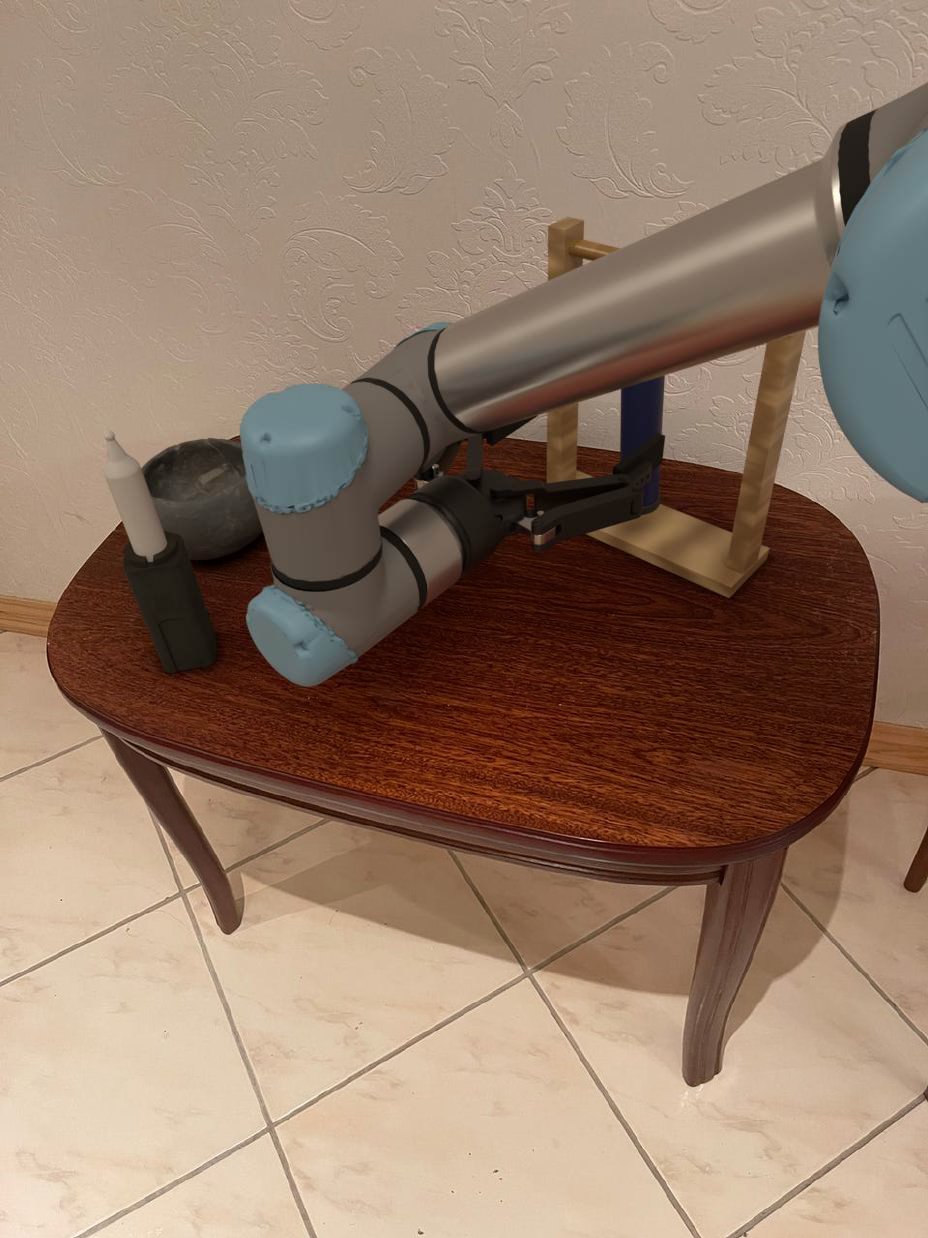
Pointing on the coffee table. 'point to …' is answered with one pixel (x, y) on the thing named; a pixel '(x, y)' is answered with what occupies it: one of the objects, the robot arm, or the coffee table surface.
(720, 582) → the rack
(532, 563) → the coffee table surface
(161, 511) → the bowl
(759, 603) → the coffee table surface
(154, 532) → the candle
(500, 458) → the coffee table surface
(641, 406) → the umbrella
